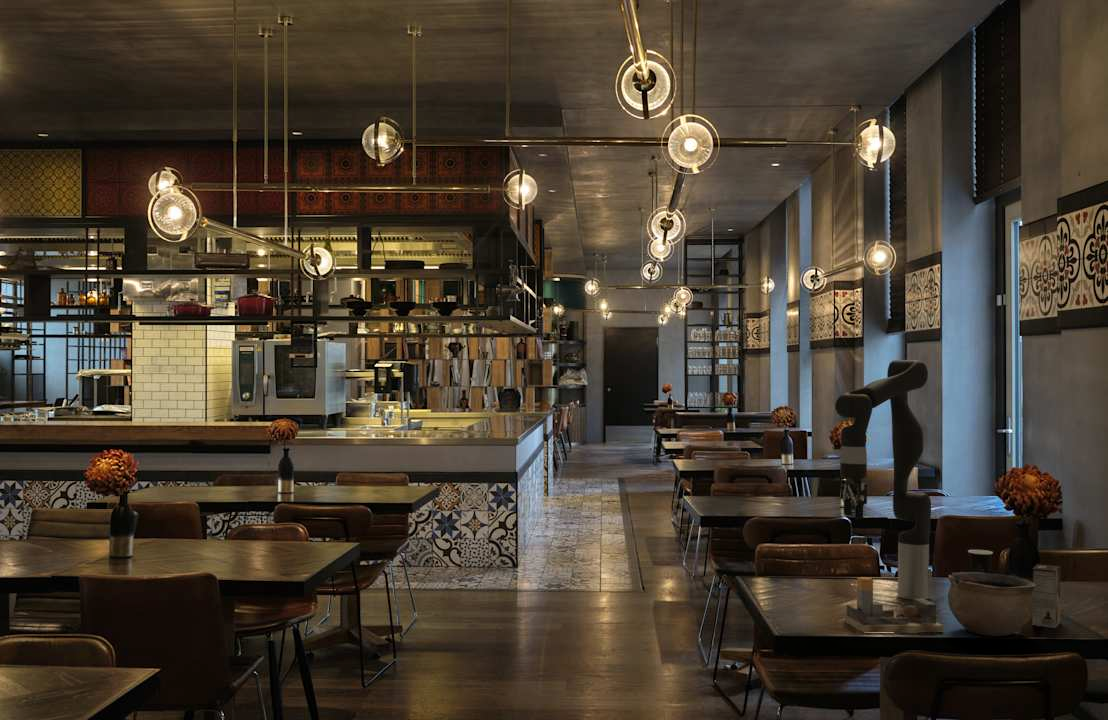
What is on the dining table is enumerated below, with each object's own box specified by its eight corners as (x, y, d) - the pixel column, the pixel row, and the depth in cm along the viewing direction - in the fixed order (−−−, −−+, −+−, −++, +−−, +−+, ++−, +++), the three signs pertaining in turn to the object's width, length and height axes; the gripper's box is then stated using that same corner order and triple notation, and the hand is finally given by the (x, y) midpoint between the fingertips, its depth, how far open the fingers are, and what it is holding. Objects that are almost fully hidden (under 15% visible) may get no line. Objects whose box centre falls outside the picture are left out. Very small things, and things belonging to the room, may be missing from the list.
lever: (874, 616, 289) (874, 575, 289) (885, 621, 282) (885, 580, 282) (853, 616, 288) (854, 575, 288) (864, 622, 281) (864, 580, 281)
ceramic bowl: (938, 622, 292) (938, 569, 292) (1017, 625, 290) (1018, 571, 290) (961, 641, 270) (961, 584, 270) (1048, 645, 268) (1048, 586, 268)
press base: (919, 621, 294) (919, 596, 294) (943, 632, 280) (943, 606, 280) (845, 621, 291) (845, 596, 292) (864, 633, 277) (865, 607, 278)
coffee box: (1036, 619, 298) (1036, 563, 298) (1060, 622, 294) (1060, 565, 295) (1031, 625, 290) (1031, 568, 290) (1056, 628, 287) (1057, 570, 287)
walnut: (914, 618, 288) (914, 603, 288) (920, 621, 284) (920, 606, 284) (900, 618, 288) (900, 603, 288) (906, 621, 284) (906, 606, 284)
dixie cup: (974, 586, 347) (974, 553, 348) (963, 581, 355) (963, 549, 355) (997, 586, 348) (997, 553, 348) (985, 581, 356) (985, 549, 356)
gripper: (875, 463, 298) (875, 519, 298) (856, 460, 313) (855, 513, 312) (850, 463, 298) (850, 520, 297) (832, 459, 312) (831, 513, 311)
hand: (853, 516), depth 305 cm, fingers open, 8 cm apart
